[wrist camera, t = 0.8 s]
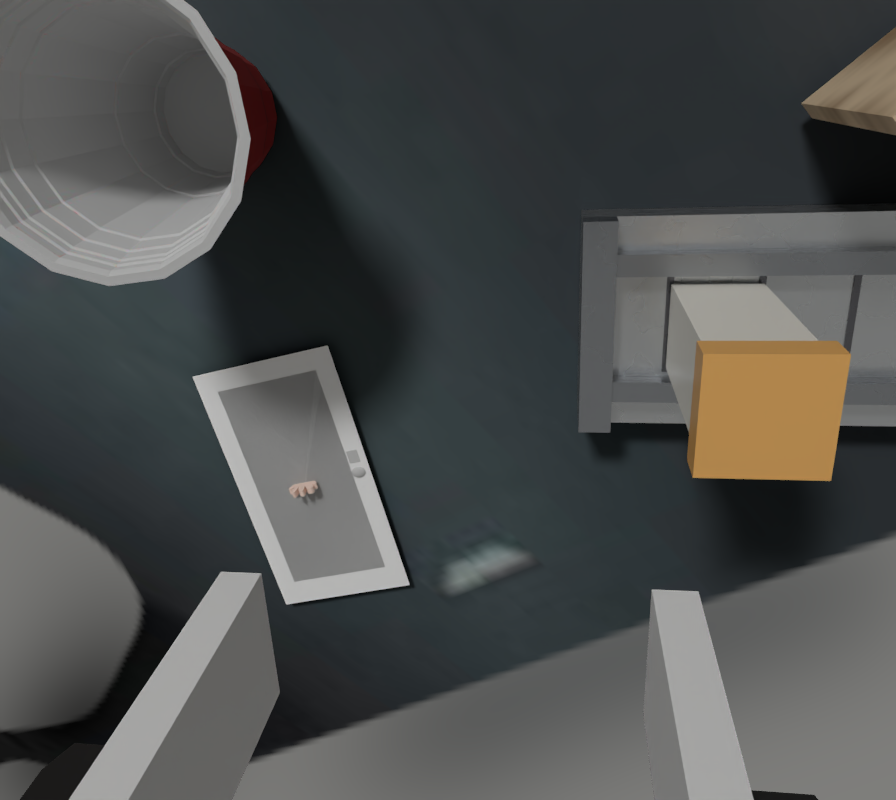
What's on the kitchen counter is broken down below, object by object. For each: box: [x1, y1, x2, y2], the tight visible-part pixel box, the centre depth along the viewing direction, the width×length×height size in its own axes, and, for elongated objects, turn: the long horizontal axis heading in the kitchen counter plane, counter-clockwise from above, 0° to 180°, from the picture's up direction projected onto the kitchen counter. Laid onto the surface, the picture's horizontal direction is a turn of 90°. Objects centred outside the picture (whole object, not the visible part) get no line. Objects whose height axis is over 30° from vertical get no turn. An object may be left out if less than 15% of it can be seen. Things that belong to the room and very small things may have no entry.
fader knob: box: [666, 283, 851, 481], centre depth 32 cm, size 5×5×10 cm
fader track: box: [577, 203, 896, 433], centre depth 36 cm, size 24×10×3 cm, turn 92°
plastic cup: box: [0, 0, 277, 286], centre depth 32 cm, size 11×11×12 cm
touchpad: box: [193, 345, 410, 605], centre depth 44 cm, size 8×15×2 cm, turn 16°
